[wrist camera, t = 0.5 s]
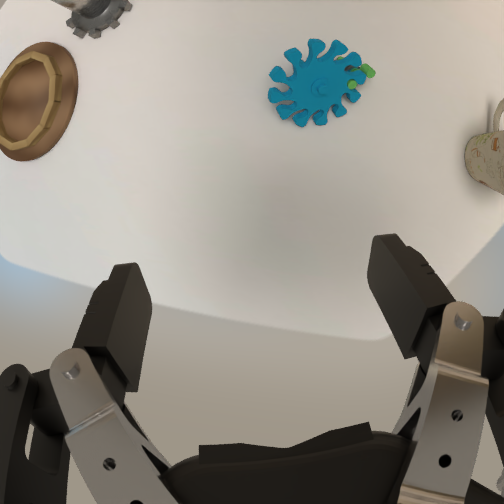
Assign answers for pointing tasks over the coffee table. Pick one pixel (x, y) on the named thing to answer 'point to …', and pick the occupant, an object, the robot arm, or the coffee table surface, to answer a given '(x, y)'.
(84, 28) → the gear
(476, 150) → the mug
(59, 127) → the carrier disc
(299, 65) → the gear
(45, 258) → the coffee table surface
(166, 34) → the coffee table surface
